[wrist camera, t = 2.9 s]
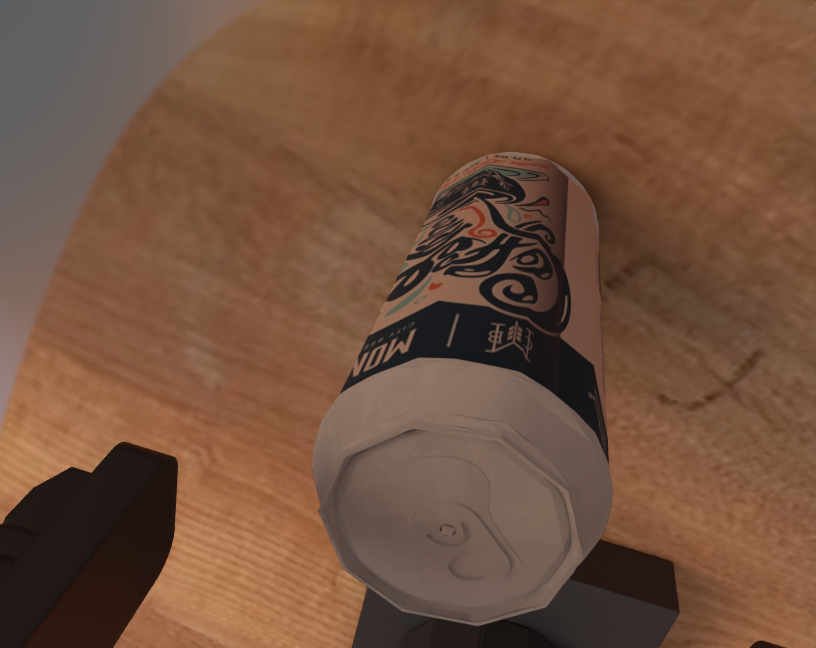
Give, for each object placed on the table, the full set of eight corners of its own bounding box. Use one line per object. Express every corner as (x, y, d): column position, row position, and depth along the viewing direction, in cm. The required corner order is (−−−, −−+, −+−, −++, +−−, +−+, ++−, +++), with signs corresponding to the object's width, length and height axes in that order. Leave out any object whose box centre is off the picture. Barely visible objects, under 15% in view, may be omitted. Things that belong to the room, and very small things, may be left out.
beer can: (546, 112, 20) (506, 344, 9) (629, 259, 21) (674, 600, 11) (397, 199, 22) (230, 469, 11) (483, 327, 23) (403, 669, 13)
